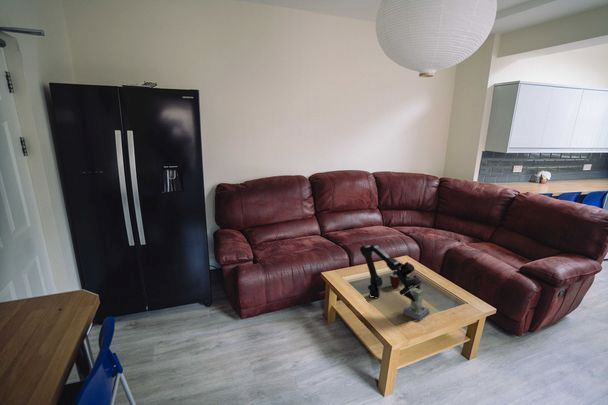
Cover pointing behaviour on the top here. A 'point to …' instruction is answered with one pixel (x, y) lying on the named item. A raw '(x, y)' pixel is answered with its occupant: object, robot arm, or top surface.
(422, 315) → the footing
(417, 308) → the pillar
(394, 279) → the mug
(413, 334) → the top surface
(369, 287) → the robot arm
